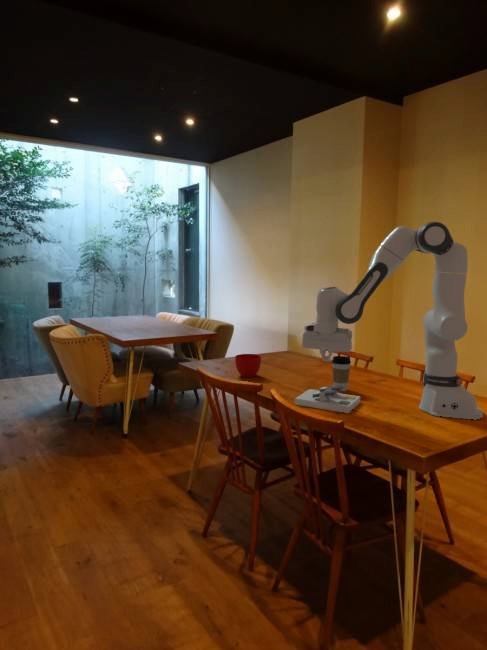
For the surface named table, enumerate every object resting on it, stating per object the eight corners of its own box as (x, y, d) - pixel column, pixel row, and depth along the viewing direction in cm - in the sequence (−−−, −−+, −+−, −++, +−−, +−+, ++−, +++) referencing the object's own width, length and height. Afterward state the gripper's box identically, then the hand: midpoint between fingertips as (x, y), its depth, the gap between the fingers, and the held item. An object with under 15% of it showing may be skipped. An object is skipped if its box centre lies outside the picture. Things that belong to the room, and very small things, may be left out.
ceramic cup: (262, 371, 240) (262, 352, 239) (260, 379, 224) (260, 359, 222) (237, 370, 242) (237, 352, 240) (233, 378, 225) (233, 358, 224)
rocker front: (337, 392, 181) (336, 389, 181) (334, 395, 177) (333, 391, 177) (316, 395, 185) (315, 392, 185) (312, 397, 182) (312, 394, 182)
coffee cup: (336, 392, 201) (337, 359, 199) (327, 387, 209) (328, 355, 207) (353, 391, 203) (354, 358, 201) (344, 386, 211) (345, 354, 209)
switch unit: (360, 402, 187) (360, 388, 186) (348, 413, 173) (349, 398, 172) (309, 394, 198) (309, 381, 197) (294, 404, 184) (295, 390, 183)
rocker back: (343, 388, 188) (342, 385, 188) (340, 390, 184) (339, 387, 184) (322, 390, 192) (322, 387, 192) (319, 392, 189) (319, 389, 189)
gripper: (354, 327, 183) (353, 361, 185) (306, 324, 193) (306, 356, 195) (349, 329, 177) (348, 364, 179) (300, 326, 187) (300, 359, 189)
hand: (326, 360), depth 187 cm, fingers closed
